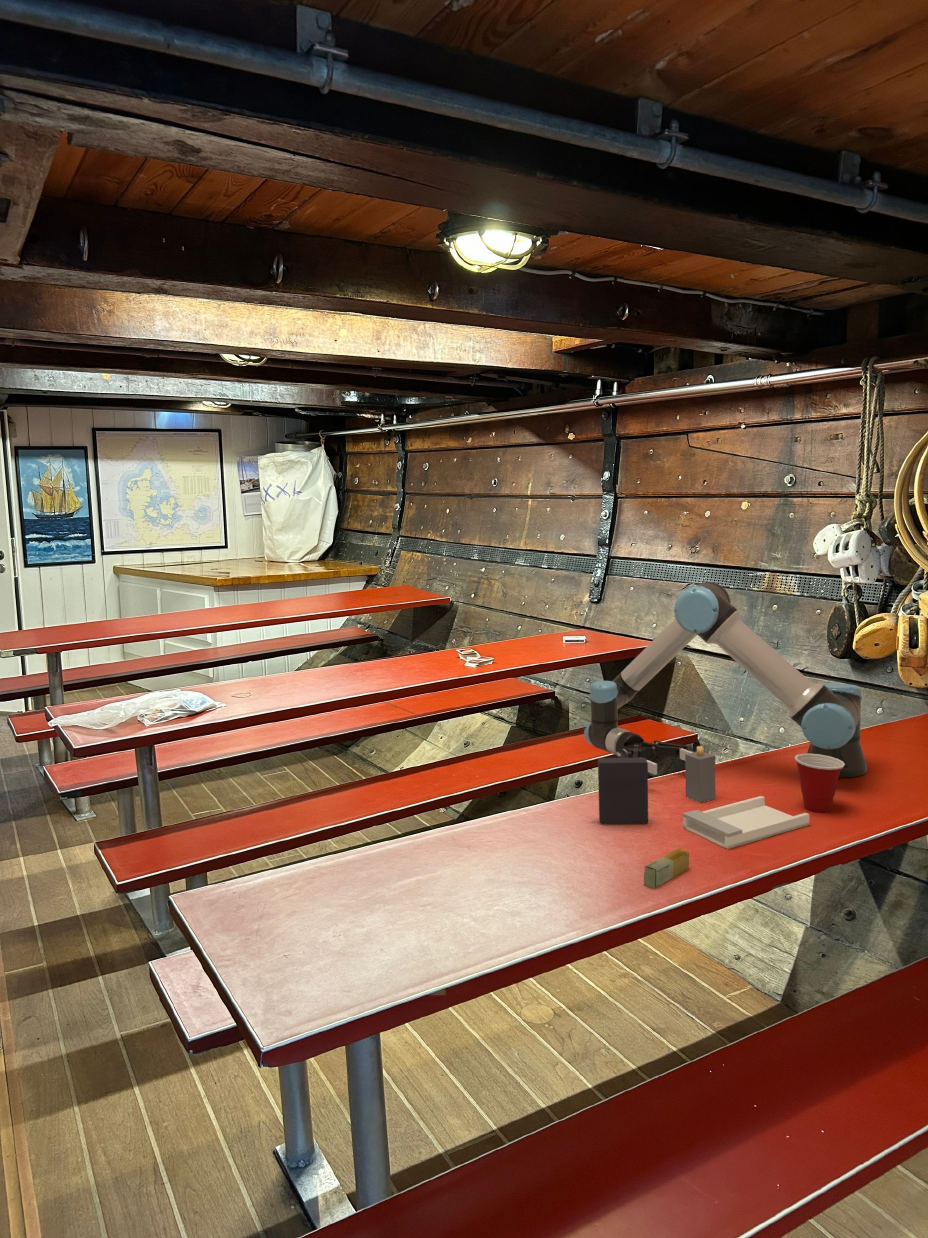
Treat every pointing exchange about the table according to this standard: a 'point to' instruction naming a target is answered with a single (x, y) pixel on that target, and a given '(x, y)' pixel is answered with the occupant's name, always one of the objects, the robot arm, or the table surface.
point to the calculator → (623, 790)
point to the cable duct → (742, 822)
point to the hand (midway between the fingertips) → (677, 764)
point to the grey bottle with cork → (700, 775)
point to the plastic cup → (818, 780)
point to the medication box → (666, 868)
